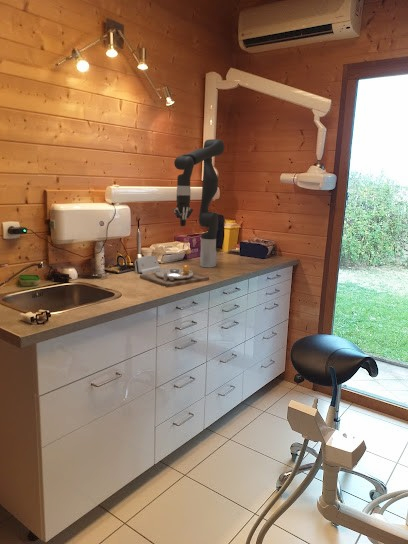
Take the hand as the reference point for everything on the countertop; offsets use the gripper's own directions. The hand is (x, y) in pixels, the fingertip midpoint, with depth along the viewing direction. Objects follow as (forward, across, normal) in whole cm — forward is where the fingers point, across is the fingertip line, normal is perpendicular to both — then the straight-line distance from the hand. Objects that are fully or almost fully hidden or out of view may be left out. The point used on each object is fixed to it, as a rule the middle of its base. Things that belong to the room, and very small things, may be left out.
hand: (182, 226), depth 233 cm
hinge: (+27, +13, -15) cm, 33 cm away
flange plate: (+24, +13, +9) cm, 29 cm away
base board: (+26, +12, +9) cm, 30 cm away
